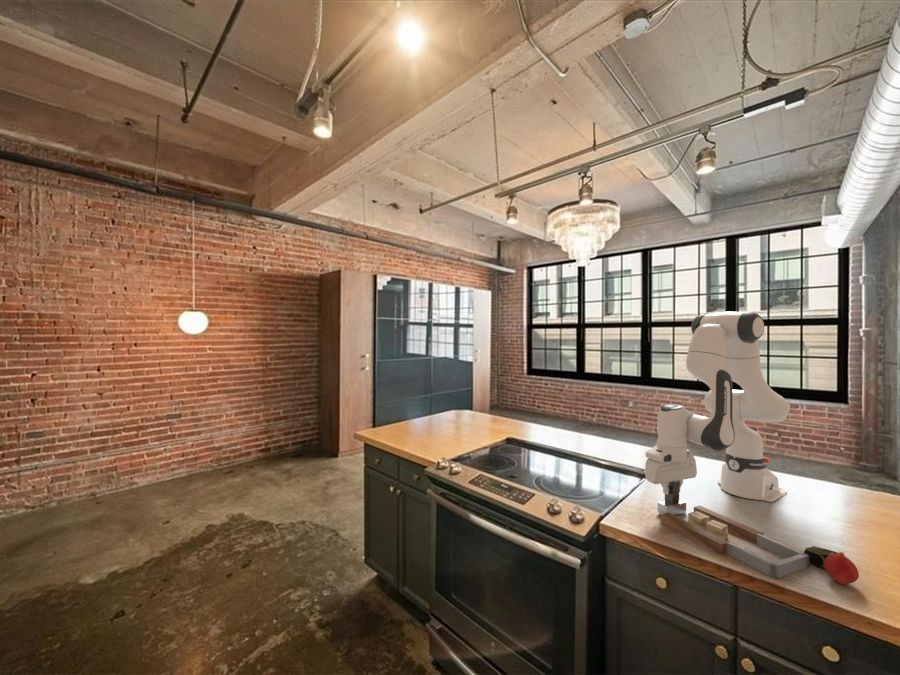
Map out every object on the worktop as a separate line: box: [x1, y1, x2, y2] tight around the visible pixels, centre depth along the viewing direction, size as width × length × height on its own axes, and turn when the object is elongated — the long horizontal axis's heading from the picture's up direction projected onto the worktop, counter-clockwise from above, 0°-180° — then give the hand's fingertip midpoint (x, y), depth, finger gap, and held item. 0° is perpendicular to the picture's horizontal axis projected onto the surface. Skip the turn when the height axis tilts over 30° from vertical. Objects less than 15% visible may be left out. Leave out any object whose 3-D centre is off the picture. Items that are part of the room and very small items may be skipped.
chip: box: [705, 520, 729, 541], centre depth 111 cm, size 4×4×4 cm
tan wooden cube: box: [687, 511, 709, 531], centre depth 117 cm, size 4×4×4 cm
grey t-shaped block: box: [657, 481, 687, 516], centre depth 125 cm, size 9×4×10 cm, turn 110°
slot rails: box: [660, 505, 765, 556], centre depth 113 cm, size 18×19×3 cm
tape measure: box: [803, 545, 838, 569], centre depth 97 cm, size 7×7×4 cm
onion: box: [823, 551, 860, 586], centre depth 90 cm, size 6×6×8 cm
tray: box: [726, 534, 810, 580], centre depth 99 cm, size 14×12×3 cm
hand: (671, 493), depth 125 cm, fingers closed on grey t-shaped block, 3 cm apart
